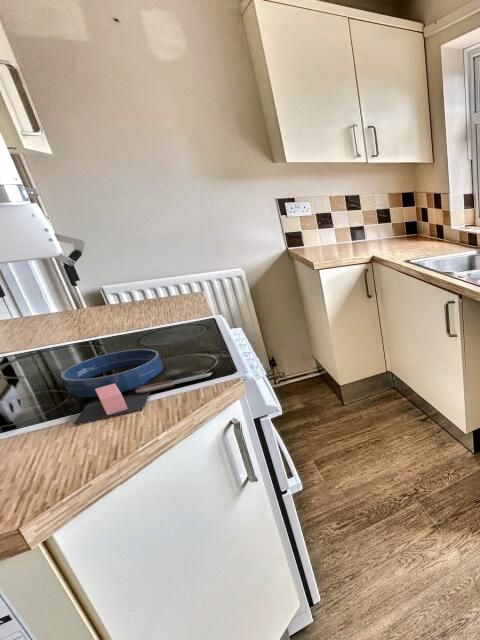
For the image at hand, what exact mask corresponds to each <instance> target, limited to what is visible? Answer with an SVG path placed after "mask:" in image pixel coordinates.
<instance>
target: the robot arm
mask: <svg viewBox="0 0 480 640" xmlns="http://www.w3.org/2000/svg"><path fill="white" fill-rule="evenodd" d="M34 197H40V195H39V191H38V189H37V188H31V187H27V186H25V185H24V184H23V182H22V178H21V177H20V174H19V172H18V169H17V167H16V165H15V163H14V160H13V158H12V156H11V153H10V151H9V148H8V147H7V144H6V142H5V139H4V137H3V135H2V133H1V132H0V265H1V264H10V263H20V262H28V261H37V260H45V259H52V258H54V259H56V260H58V261H60V262H61V263H63V265H62V267H63V270H64V272H65V274H66V276H67V279H68V281H69V284H70V285H71V286H72V287H78V283H77V282H79V281H81V279H80V277H79V274H78V271H77V269H76V267H75V265H76V263H77V262H78V260H79V259H80V258H81V257H82V255H83V252H84V248H85V243H86V242H85V241H84V240H82V239H79V238H76V237H71V236H68V235H63V234H59V233H56V232H54V230H53V228H52V227H51V225H50V222H49V220H48V219H47V217H46V216H45V214H44V212H43V210H42V209H41V207H40V206H39V204H38V203H37V202H31V200H30V199H31V198H34ZM59 242H61V243H65V244H69V245H73V249H72V251H71V252H70V253H69V254H68V256H67V255H65V254H64V253H62V249H61V246H60V243H59ZM5 297H6V293H5V291H4V288H3V286H2V285H1V284H0V299H1V298H5Z"/></svg>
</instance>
